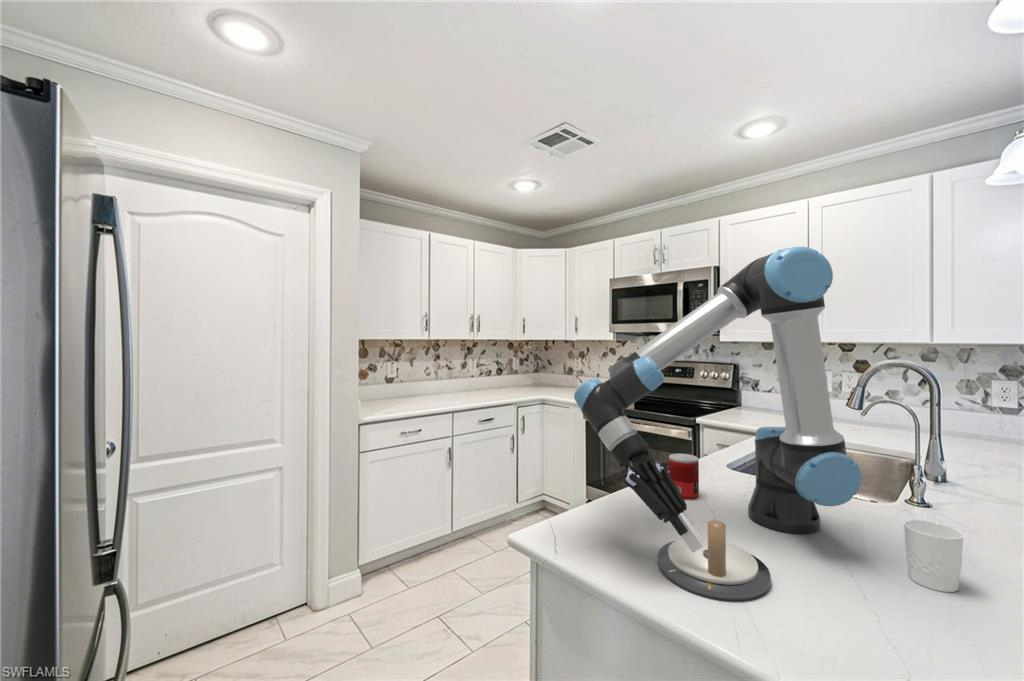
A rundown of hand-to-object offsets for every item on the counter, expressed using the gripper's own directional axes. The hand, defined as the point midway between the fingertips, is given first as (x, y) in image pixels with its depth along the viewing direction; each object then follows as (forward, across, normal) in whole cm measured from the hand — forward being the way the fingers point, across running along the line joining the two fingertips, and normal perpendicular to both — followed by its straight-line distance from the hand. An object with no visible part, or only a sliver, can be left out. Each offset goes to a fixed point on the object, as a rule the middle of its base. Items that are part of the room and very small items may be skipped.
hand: (699, 548), depth 81 cm
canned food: (-13, -40, -22) cm, 47 cm away
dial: (+3, -6, -4) cm, 8 cm away
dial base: (+4, -6, -5) cm, 9 cm away
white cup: (+24, -32, +16) cm, 44 cm away
